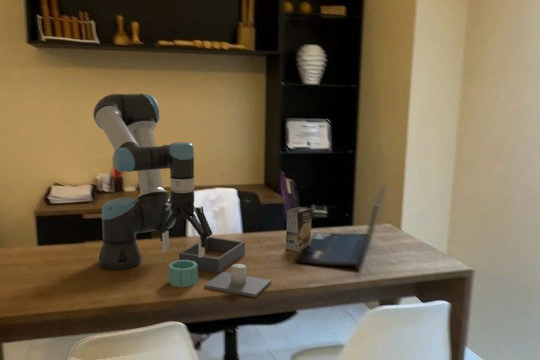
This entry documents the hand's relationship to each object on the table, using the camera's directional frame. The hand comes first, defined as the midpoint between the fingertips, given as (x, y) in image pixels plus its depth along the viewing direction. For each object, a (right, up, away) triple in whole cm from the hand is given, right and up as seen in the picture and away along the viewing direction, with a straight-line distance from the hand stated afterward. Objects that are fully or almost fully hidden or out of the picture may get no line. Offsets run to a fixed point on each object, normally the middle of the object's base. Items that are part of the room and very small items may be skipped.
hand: (183, 253), depth 175 cm
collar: (0, -10, +2) cm, 10 cm away
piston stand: (+18, -10, 0) cm, 21 cm away
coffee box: (+40, -3, +40) cm, 57 cm away
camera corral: (+7, -6, +24) cm, 25 cm away
